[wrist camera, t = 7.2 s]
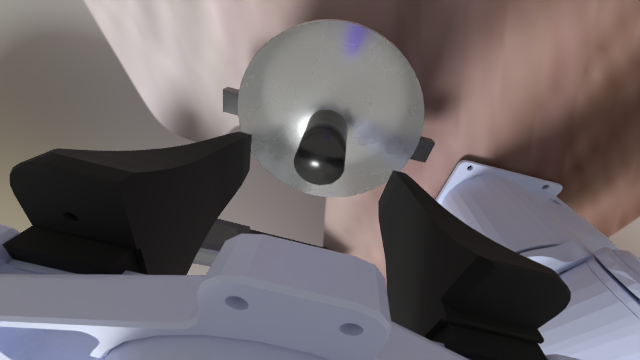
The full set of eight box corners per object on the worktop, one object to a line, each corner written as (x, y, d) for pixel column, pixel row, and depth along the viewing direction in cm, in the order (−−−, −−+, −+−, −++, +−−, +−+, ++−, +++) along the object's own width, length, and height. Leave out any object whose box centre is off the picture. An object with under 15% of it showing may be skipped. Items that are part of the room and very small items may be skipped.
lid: (450, 33, 13) (500, 58, 8) (388, 191, 20) (397, 251, 16) (241, 2, 13) (178, 10, 9) (254, 168, 21) (223, 221, 16)
